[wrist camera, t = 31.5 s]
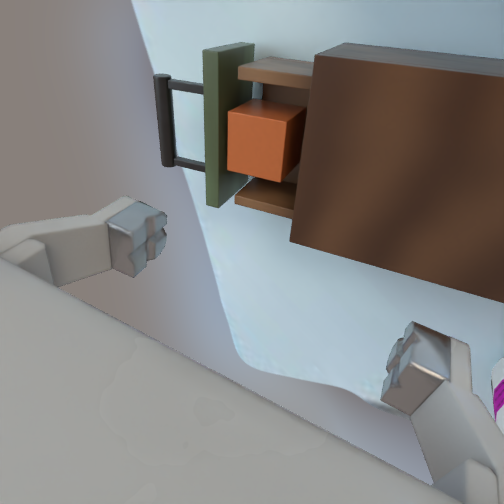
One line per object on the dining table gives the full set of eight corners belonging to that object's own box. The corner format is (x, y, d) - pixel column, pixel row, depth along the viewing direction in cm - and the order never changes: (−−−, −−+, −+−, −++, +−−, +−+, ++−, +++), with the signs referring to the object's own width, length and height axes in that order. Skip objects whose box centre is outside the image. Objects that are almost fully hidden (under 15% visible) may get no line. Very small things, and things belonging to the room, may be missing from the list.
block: (253, 98, 29) (227, 111, 25) (306, 107, 27) (286, 121, 24) (250, 152, 31) (226, 170, 28) (299, 162, 30) (280, 183, 27)
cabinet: (316, 200, 33) (289, 241, 28) (344, 42, 26) (314, 54, 20) (494, 243, 29) (505, 304, 23) (589, 68, 22) (639, 93, 16)
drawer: (192, 168, 36) (157, 191, 32) (186, 35, 29) (140, 41, 25) (381, 214, 31) (369, 250, 26) (426, 63, 24) (421, 77, 20)
